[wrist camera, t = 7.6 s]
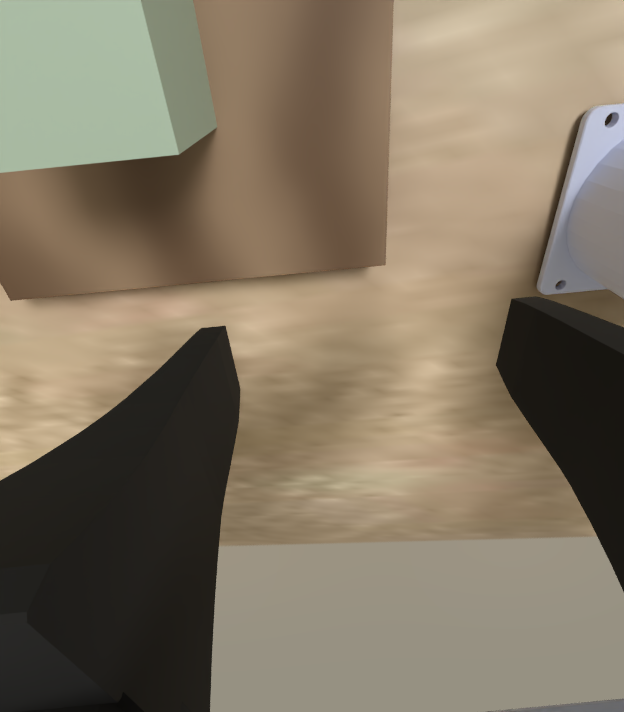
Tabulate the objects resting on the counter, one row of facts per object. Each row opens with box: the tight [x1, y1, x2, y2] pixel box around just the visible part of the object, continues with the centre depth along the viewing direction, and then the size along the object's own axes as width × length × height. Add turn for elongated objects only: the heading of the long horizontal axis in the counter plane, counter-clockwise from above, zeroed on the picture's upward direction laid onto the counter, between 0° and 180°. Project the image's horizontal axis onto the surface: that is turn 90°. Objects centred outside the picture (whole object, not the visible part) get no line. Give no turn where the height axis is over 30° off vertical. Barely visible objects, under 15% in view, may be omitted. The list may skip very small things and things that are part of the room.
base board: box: [0, 0, 394, 301], centre depth 13 cm, size 16×16×2 cm
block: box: [0, 0, 217, 173], centre depth 10 cm, size 4×4×6 cm
